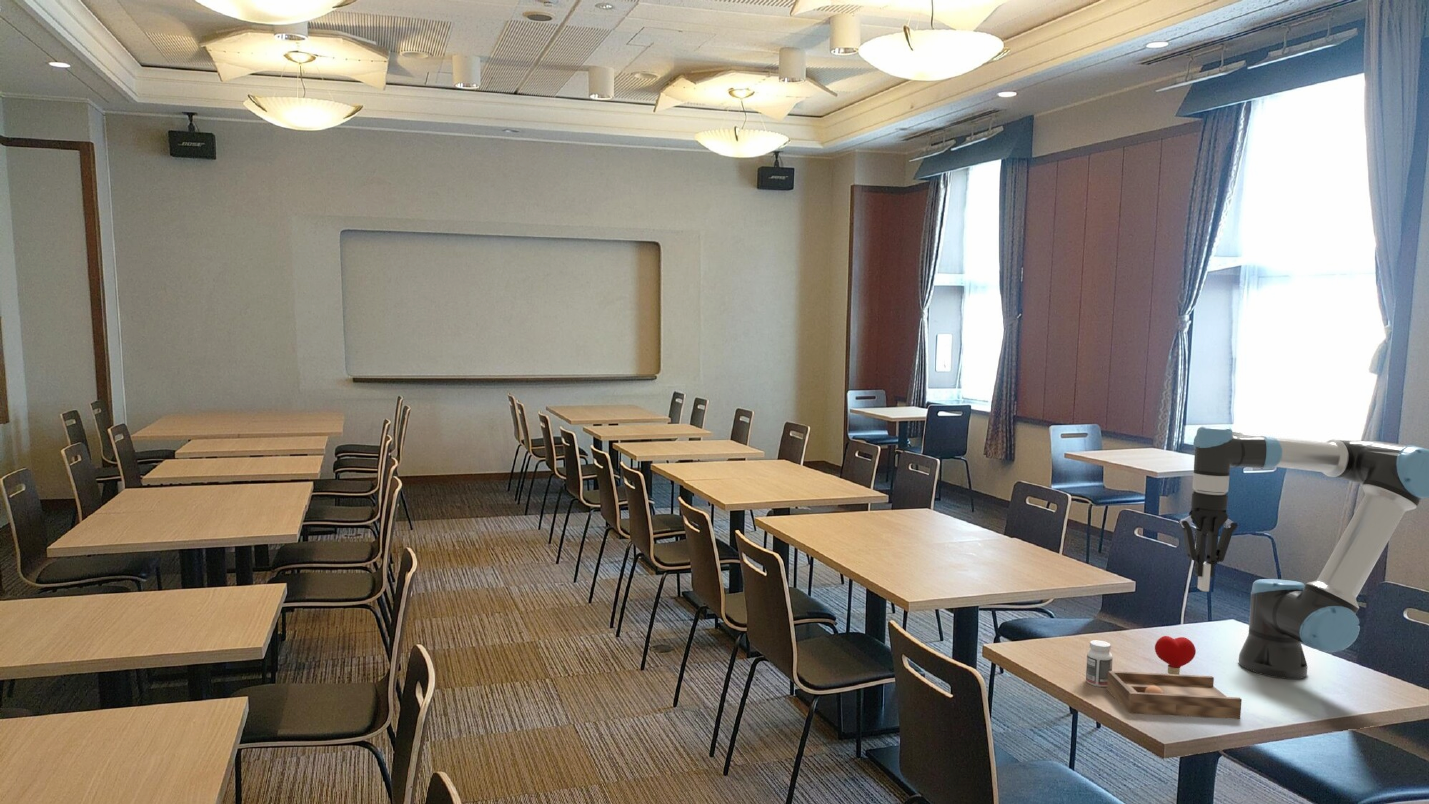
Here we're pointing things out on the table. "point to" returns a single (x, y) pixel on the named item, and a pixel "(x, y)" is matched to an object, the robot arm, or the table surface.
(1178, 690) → the lane
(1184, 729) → the table surface
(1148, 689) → the ball
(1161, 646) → the red heart-shaped lump
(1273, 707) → the table surface
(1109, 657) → the pill bottle
